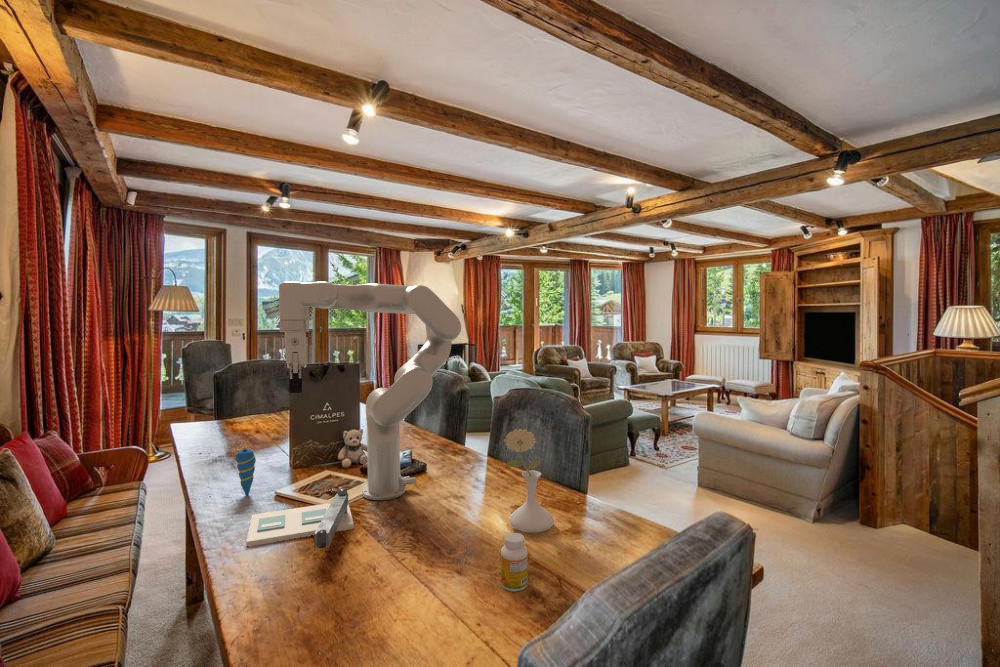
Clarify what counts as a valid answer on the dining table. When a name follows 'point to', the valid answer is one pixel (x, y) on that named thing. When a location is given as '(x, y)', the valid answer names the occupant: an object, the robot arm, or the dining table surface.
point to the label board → (291, 524)
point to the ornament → (246, 468)
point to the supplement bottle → (514, 563)
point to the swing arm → (331, 519)
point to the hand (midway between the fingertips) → (295, 392)
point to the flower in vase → (530, 512)
